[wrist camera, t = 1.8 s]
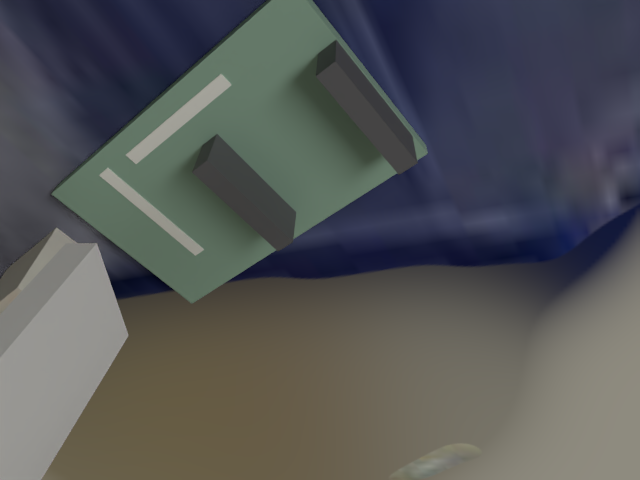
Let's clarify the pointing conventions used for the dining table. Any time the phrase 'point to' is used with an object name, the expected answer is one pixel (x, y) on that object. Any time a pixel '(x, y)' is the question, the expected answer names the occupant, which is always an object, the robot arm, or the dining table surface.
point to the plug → (30, 266)
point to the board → (244, 151)
